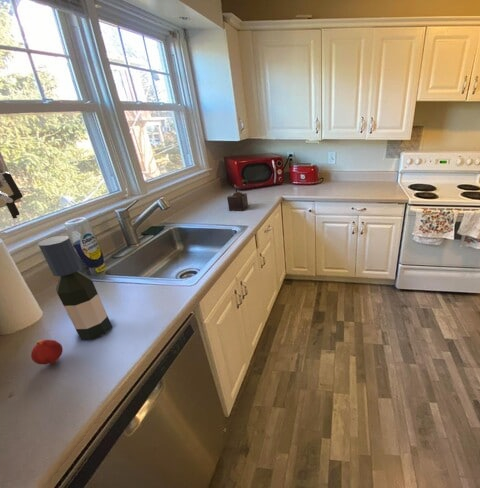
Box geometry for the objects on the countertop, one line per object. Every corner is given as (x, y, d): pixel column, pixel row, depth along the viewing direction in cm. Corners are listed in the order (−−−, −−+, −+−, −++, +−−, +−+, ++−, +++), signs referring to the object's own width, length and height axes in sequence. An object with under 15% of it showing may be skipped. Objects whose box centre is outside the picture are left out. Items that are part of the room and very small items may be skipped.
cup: (48, 277, 73) (32, 246, 69) (59, 266, 78) (45, 237, 74) (76, 273, 75) (62, 243, 71) (85, 263, 80) (72, 234, 76)
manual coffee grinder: (244, 211, 187) (241, 184, 179) (228, 210, 187) (224, 184, 179) (251, 204, 201) (248, 178, 193) (236, 203, 201) (233, 178, 193)
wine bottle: (74, 344, 81) (25, 251, 68) (83, 325, 87) (40, 238, 74) (109, 335, 84) (68, 245, 71) (115, 318, 91) (79, 233, 78)
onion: (44, 357, 76) (31, 335, 73) (70, 351, 78) (58, 329, 75) (34, 374, 71) (19, 351, 68) (62, 367, 73) (49, 344, 70)
